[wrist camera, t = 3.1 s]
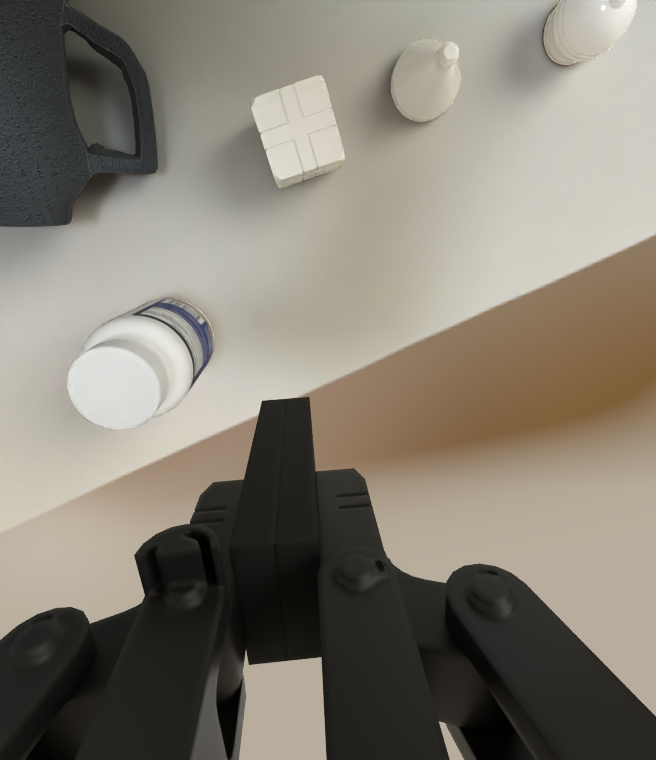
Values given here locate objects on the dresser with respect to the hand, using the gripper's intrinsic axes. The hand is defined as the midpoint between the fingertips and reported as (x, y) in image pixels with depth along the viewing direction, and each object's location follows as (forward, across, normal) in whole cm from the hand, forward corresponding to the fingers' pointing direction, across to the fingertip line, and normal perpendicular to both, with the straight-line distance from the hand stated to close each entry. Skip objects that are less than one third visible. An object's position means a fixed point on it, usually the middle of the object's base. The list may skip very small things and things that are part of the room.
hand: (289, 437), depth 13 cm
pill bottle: (+16, -8, 0) cm, 17 cm away
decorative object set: (+15, +9, +14) cm, 22 cm away
